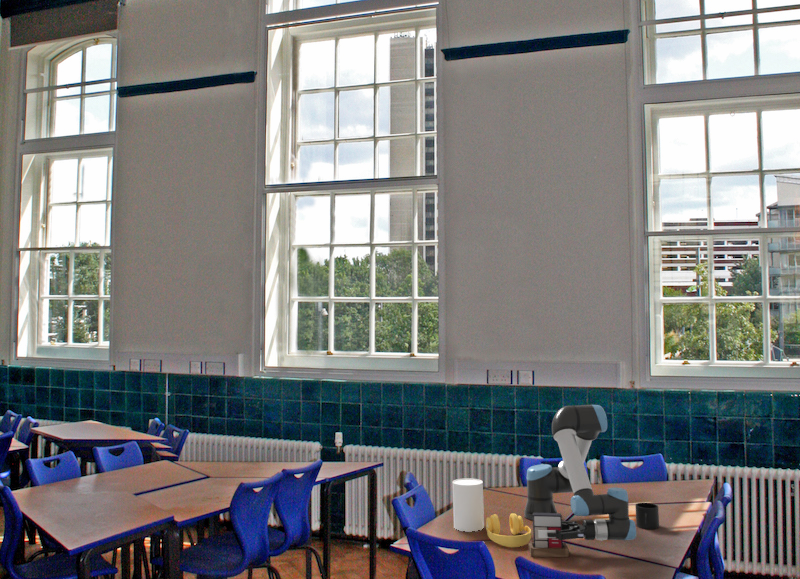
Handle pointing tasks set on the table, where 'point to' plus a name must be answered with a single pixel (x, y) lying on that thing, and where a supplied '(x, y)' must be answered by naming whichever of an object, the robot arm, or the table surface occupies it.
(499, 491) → the table surface
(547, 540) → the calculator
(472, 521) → the canister
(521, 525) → the headset
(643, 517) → the mug
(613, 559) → the table surface
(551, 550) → the slot stand
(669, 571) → the table surface
